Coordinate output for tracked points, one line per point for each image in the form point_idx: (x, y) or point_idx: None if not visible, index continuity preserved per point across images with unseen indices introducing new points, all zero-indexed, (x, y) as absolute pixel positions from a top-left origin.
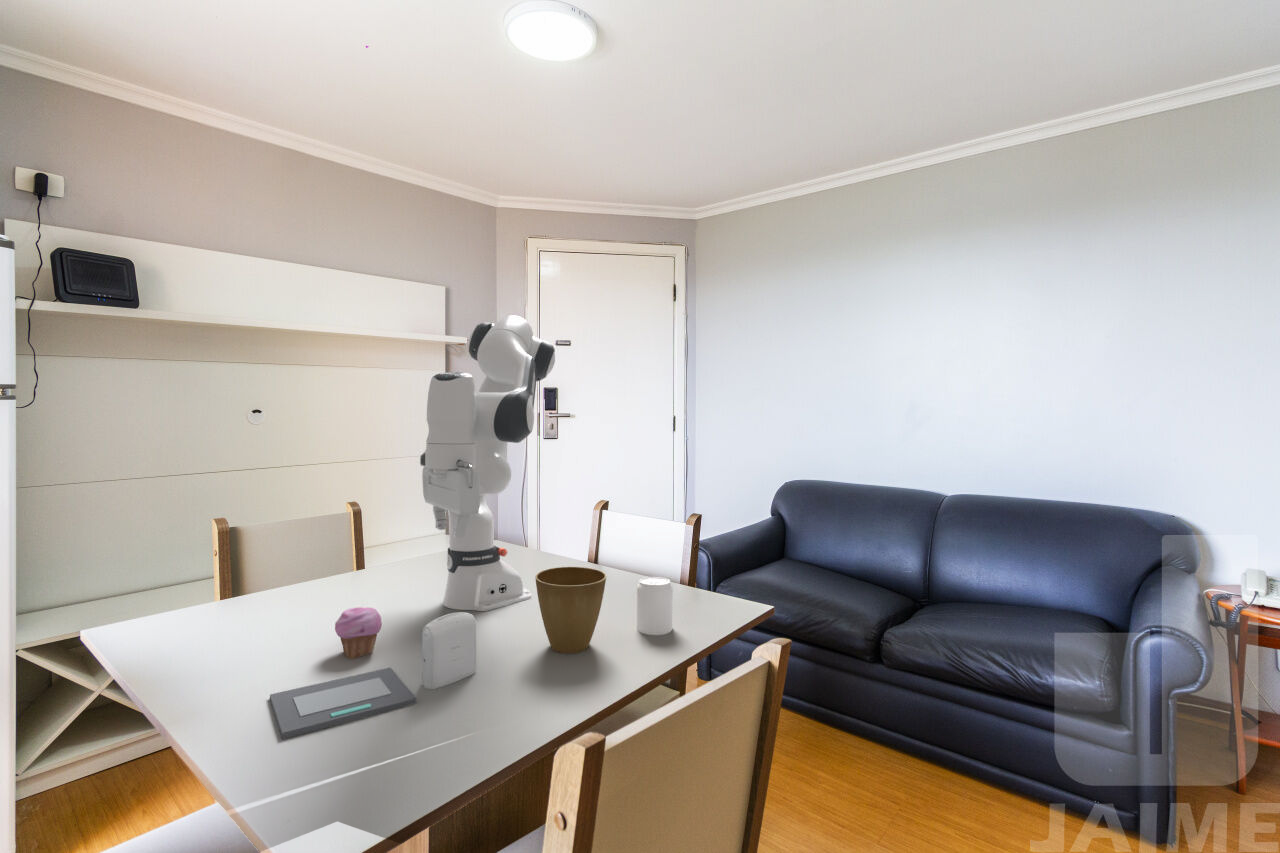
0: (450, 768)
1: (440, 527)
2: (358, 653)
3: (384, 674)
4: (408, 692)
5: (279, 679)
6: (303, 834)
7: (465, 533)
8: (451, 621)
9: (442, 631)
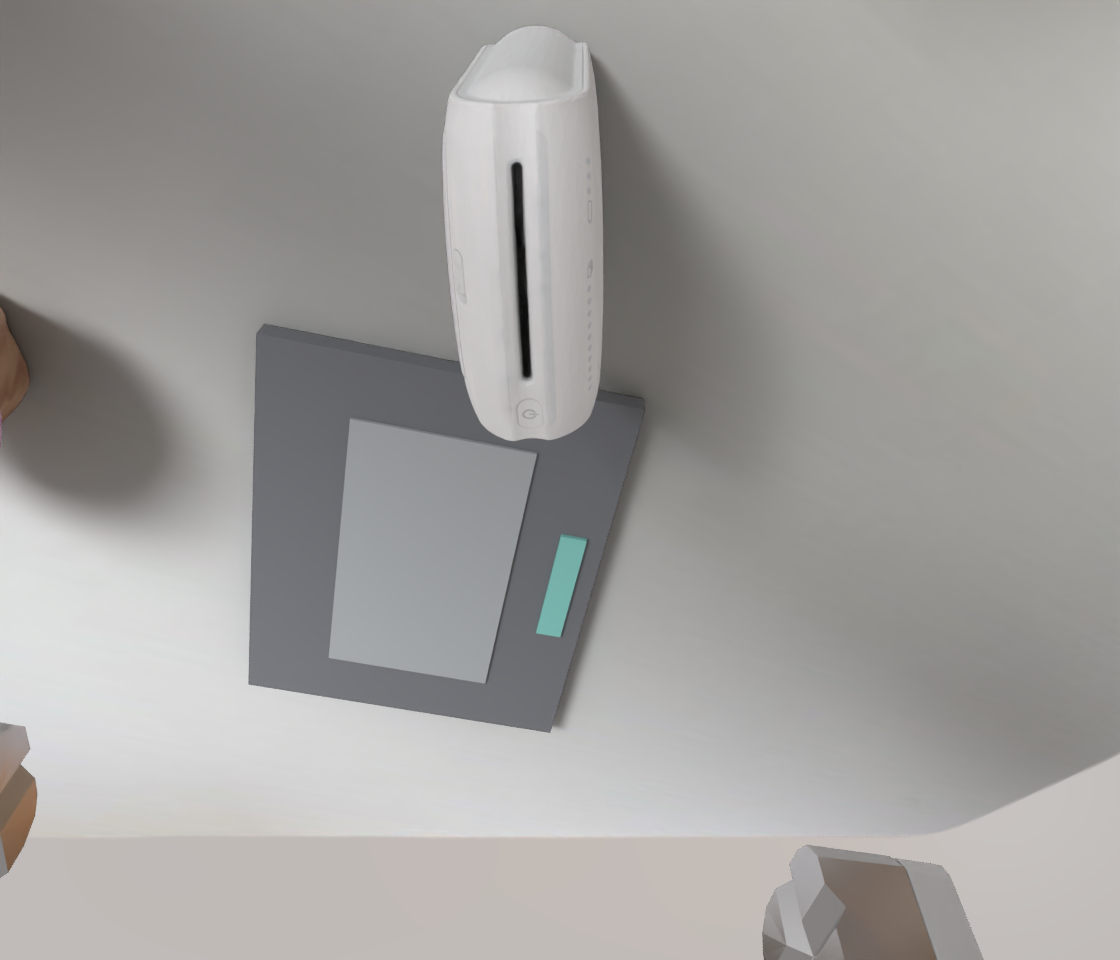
0: (1103, 530)
1: (10, 827)
2: (15, 373)
3: (323, 386)
4: None
5: (81, 606)
6: (983, 799)
7: (961, 905)
8: (582, 313)
9: (598, 367)
